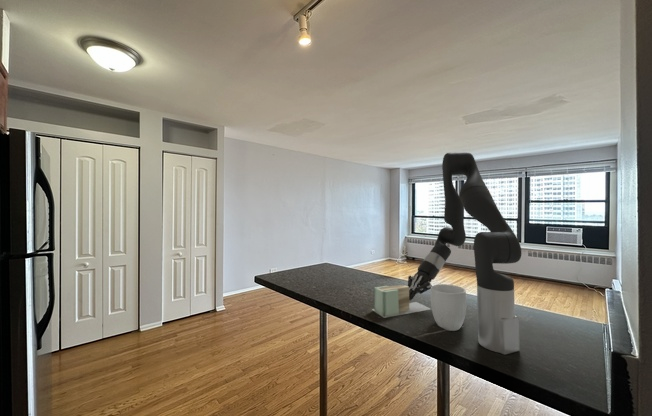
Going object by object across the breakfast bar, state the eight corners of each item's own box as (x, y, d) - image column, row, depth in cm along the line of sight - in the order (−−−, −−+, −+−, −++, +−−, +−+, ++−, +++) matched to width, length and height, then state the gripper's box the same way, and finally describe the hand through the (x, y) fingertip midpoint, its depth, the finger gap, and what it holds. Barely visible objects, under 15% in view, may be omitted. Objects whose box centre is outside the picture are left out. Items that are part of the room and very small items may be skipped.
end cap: (398, 313, 100) (398, 290, 101) (383, 316, 98) (383, 292, 98) (388, 307, 107) (388, 285, 107) (374, 310, 104) (374, 287, 105)
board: (431, 310, 104) (431, 309, 104) (383, 319, 97) (383, 317, 97) (416, 303, 113) (416, 301, 113) (371, 310, 105) (371, 309, 105)
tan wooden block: (409, 309, 104) (409, 286, 104) (383, 314, 100) (382, 290, 100) (404, 306, 108) (403, 284, 108) (378, 310, 103) (378, 288, 104)
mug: (451, 315, 99) (450, 280, 99) (480, 326, 90) (479, 288, 90) (424, 324, 92) (423, 287, 92) (453, 337, 82) (452, 295, 83)
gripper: (415, 257, 116) (392, 288, 111) (437, 262, 103) (412, 298, 99) (425, 268, 118) (403, 299, 113) (448, 274, 105) (424, 310, 101)
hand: (407, 298), depth 106 cm, fingers closed
